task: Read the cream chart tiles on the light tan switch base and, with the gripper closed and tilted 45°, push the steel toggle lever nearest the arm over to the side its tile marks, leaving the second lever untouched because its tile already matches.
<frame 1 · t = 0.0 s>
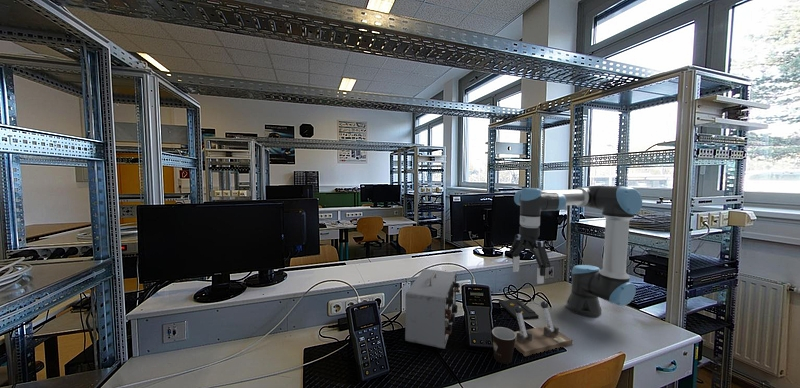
hand: (527, 277, 117), 28 cm above the table, tool pointing down, fingers open, 13 cm apart
lever 2: (521, 321, 118), point 9 cm above the table, hinge at 25.0°
switch base: (537, 341, 119), on the table
coffee mug: (502, 356, 110), on the table
vintage electronic device: (434, 329, 129), on the table
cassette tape: (517, 311, 146), on the table
lever 1: (547, 316, 123), point 9 cm above the table, hinge at 25.0°
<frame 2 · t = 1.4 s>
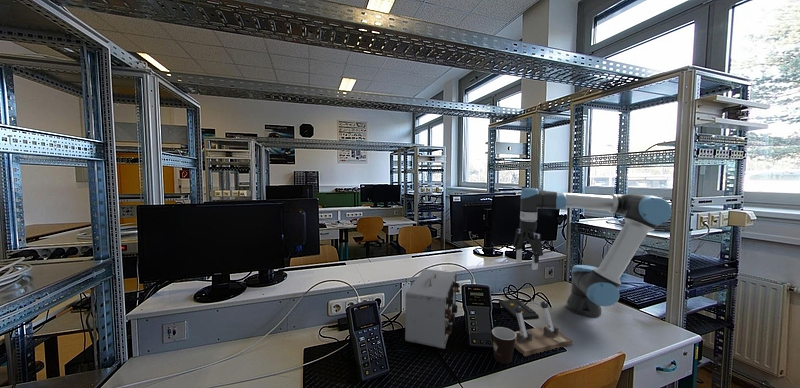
hand: (526, 265, 138), 26 cm above the table, tool pointing down, fingers open, 10 cm apart
nothing on the table moved.
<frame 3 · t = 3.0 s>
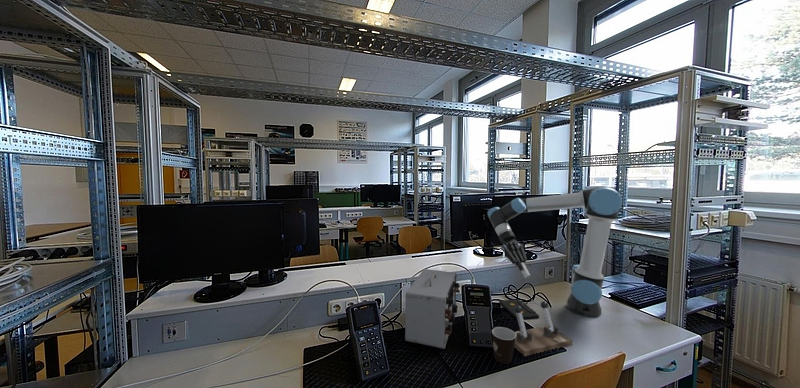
hand: (527, 276, 134), 22 cm above the table, tool tilted 45°, fingers closed
nothing on the table moved.
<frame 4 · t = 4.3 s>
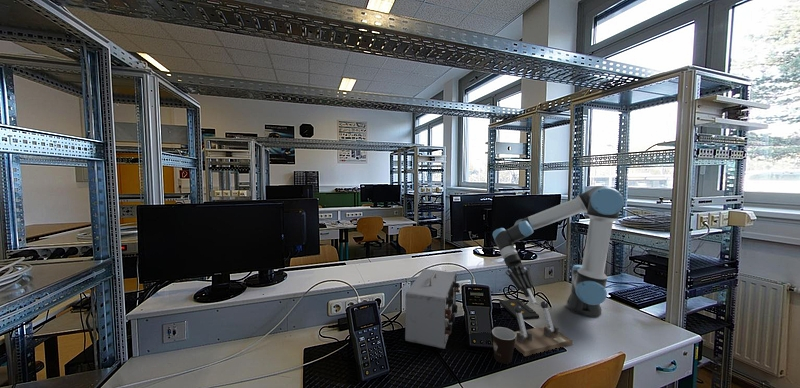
hand: (533, 303, 129), 11 cm above the table, tool tilted 45°, fingers closed
nothing on the table moved.
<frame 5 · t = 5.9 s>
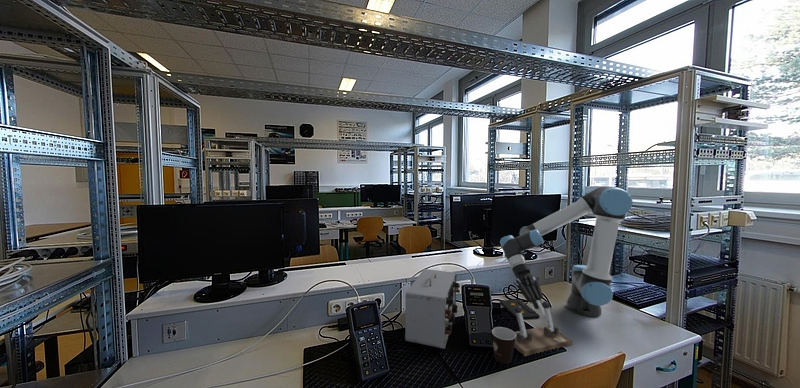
hand: (543, 316, 124), 8 cm above the table, tool tilted 45°, fingers closed
lever 1: (548, 316, 122), point 9 cm above the table, hinge at 19.4°, touching gripper
everything else where it was.
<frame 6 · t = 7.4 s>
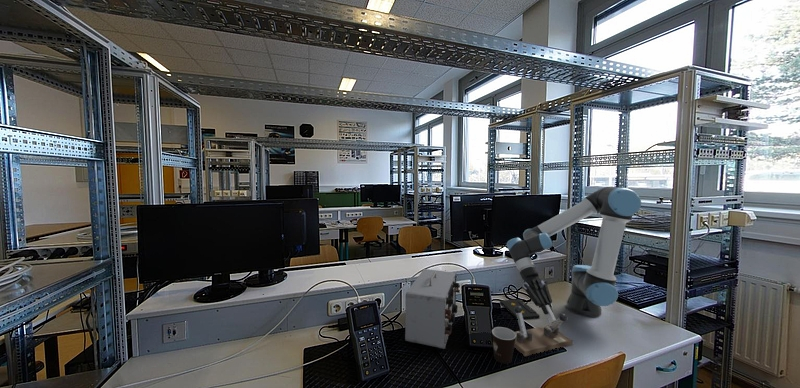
hand: (553, 321, 119), 8 cm above the table, tool tilted 45°, fingers closed
lever 1: (557, 323, 118), point 8 cm above the table, hinge at -33.1°, touching gripper
everything else where it was.
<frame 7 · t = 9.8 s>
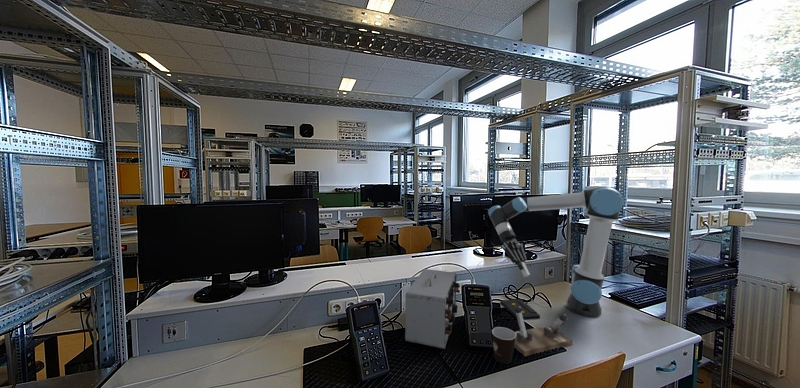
hand: (527, 275, 134), 22 cm above the table, tool tilted 45°, fingers closed
lever 1: (557, 323, 118), point 8 cm above the table, hinge at -33.2°
everything else where it was.
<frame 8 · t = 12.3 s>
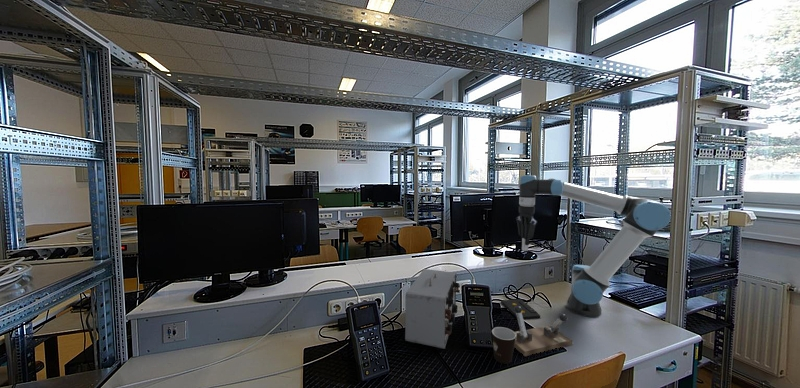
hand: (524, 250, 147), 30 cm above the table, tool pointing down, fingers closed
at the end: lever 1 at -33° (first picture: +25°); lever 2 at +25° (first picture: +25°) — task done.
